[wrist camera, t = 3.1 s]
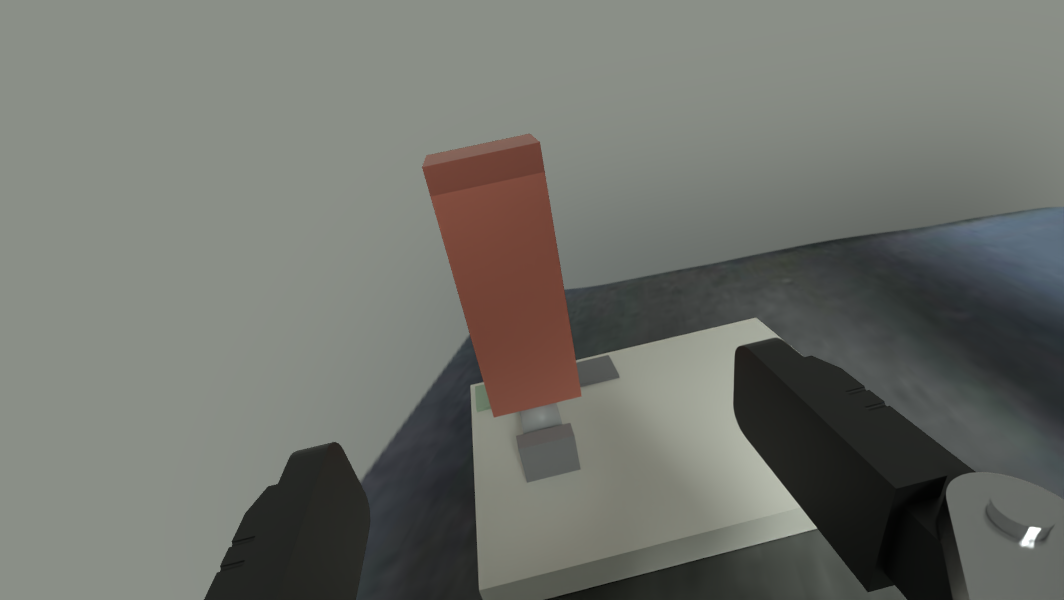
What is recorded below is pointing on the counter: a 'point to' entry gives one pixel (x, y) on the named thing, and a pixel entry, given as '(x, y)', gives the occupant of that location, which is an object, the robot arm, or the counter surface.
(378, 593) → the counter surface
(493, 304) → the lever
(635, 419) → the breaker base
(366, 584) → the counter surface
